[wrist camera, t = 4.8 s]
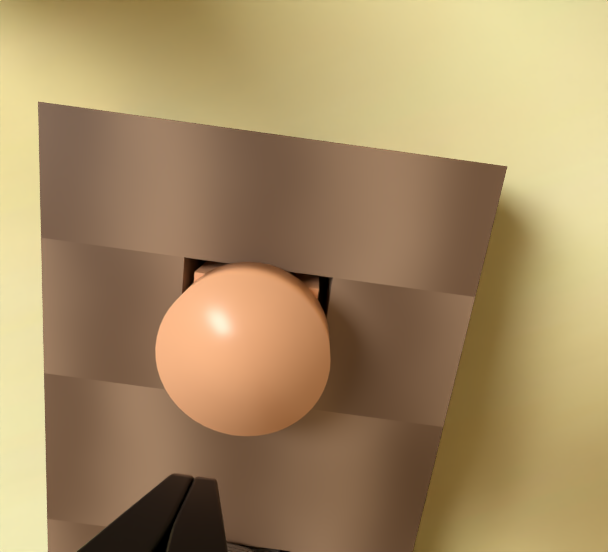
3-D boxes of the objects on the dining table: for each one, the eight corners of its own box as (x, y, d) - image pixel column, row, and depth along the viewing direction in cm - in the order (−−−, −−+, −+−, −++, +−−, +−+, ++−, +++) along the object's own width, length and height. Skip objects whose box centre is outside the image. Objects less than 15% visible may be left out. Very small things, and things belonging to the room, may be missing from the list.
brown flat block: (456, 163, 18) (507, 166, 13) (359, 613, 24) (369, 727, 19) (113, 116, 18) (38, 101, 13) (104, 580, 24) (50, 685, 19)
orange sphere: (335, 249, 18) (343, 288, 13) (317, 367, 19) (317, 446, 14) (206, 231, 18) (159, 263, 13) (197, 351, 19) (151, 424, 14)
